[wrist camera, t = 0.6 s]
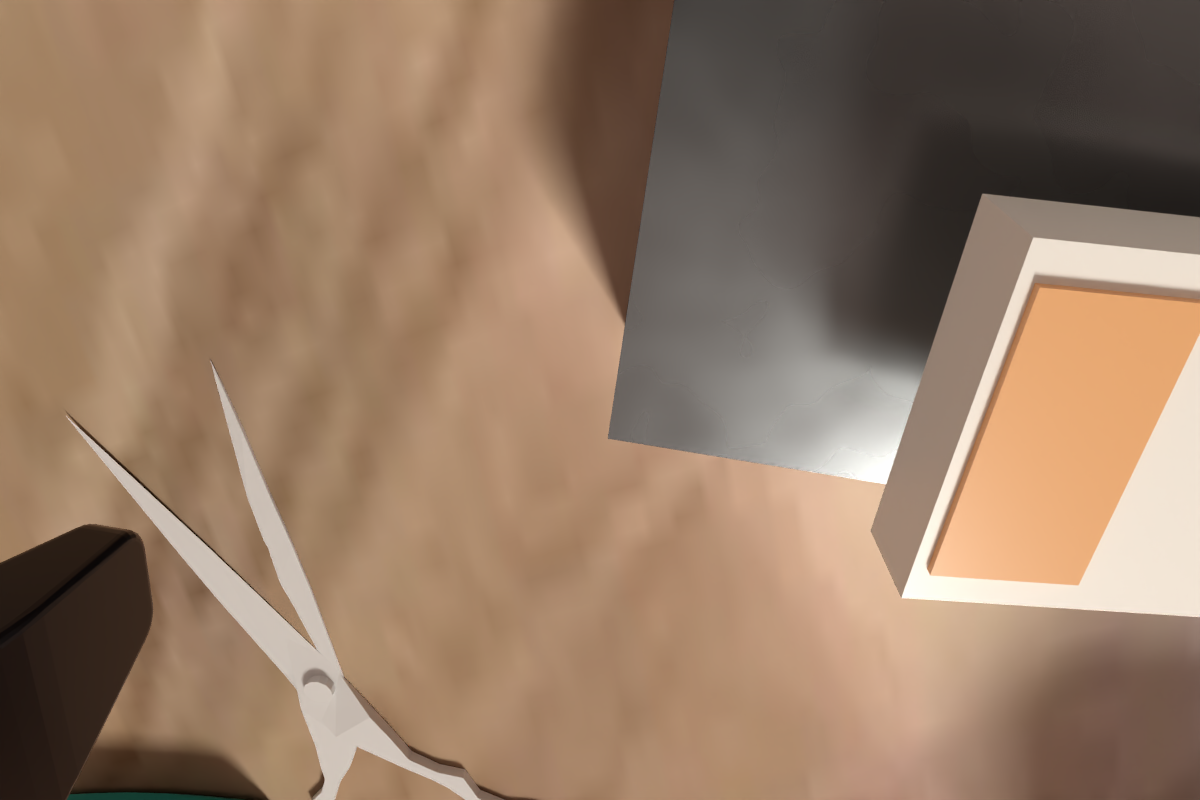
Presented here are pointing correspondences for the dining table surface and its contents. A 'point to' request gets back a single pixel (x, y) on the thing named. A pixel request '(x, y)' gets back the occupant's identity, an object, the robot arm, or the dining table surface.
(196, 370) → the dining table surface
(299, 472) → the dining table surface
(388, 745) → the scissors
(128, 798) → the digital multimeter
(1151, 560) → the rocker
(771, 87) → the breaker box
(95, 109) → the dining table surface
